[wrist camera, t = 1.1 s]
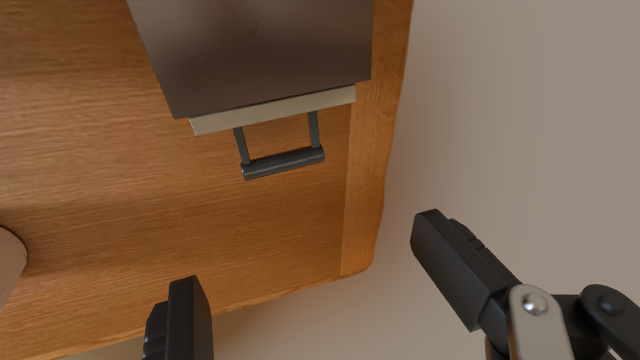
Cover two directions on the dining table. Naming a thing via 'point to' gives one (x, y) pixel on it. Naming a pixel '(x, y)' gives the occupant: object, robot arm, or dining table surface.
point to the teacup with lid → (10, 263)
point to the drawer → (269, 112)
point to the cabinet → (252, 49)
